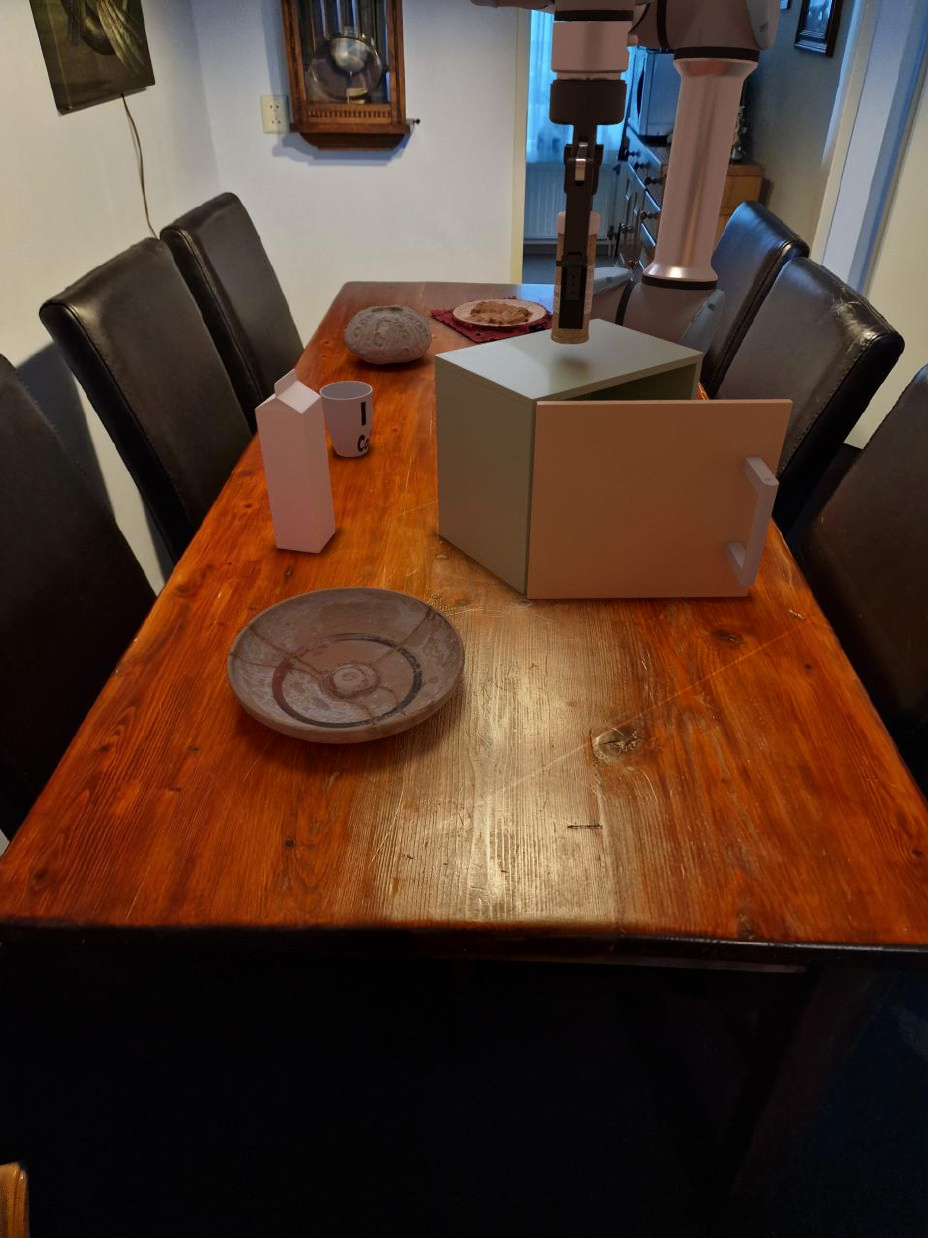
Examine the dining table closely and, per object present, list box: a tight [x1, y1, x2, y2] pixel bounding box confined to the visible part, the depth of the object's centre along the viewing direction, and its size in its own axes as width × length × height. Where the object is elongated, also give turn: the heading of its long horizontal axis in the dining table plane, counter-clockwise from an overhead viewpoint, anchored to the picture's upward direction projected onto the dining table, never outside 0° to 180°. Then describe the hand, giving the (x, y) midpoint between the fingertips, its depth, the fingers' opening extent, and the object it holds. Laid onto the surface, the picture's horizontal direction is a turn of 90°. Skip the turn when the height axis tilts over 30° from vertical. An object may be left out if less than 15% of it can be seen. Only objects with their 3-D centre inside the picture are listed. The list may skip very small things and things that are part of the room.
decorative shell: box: [343, 304, 433, 366], centre depth 166 cm, size 18×18×10 cm
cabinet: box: [434, 319, 704, 595], centre depth 102 cm, size 18×26×24 cm
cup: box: [319, 380, 374, 458], centre depth 129 cm, size 8×8×10 cm
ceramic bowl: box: [226, 585, 466, 744], centre depth 82 cm, size 23×24×5 cm
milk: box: [254, 368, 336, 554], centre depth 102 cm, size 6×6×22 cm
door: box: [526, 398, 794, 600], centre depth 87 cm, size 8×26×24 cm, turn 91°
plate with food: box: [429, 295, 553, 343], centre depth 191 cm, size 24×26×4 cm
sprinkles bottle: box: [550, 210, 601, 345], centre depth 91 cm, size 5×5×13 cm
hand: (571, 321), depth 93 cm, fingers closed on sprinkles bottle, 4 cm apart
